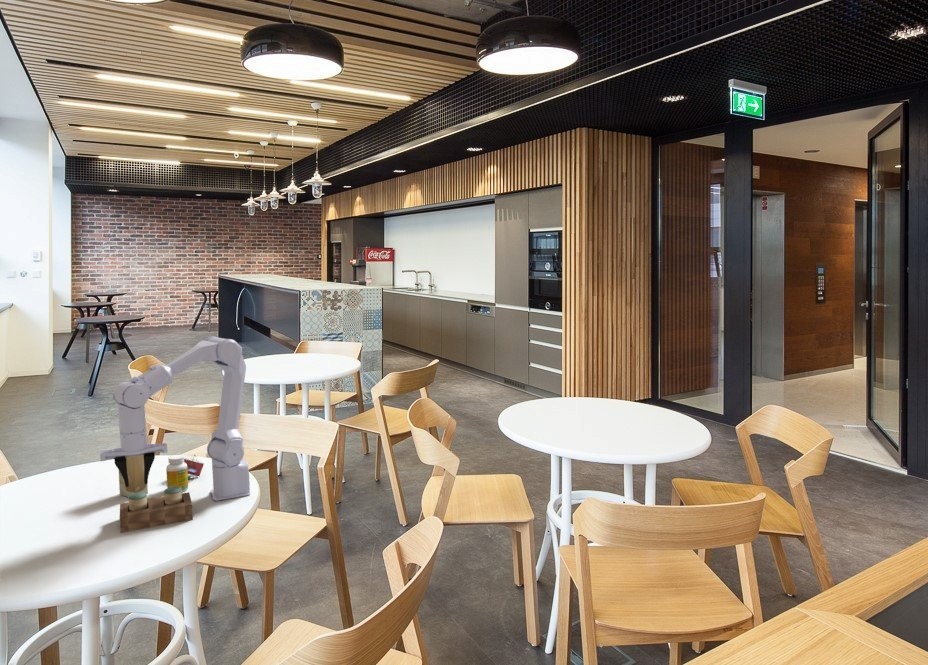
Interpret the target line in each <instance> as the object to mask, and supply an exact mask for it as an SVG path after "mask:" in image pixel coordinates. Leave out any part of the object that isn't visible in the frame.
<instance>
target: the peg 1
mask: <svg viewBox="0 0 928 665" xmlns="http://www.w3.org/2000/svg"><path fill="white" fill-rule="evenodd" d="M147 494H148V493H147ZM147 494H146V493H144V492H139V493H134V494H131V495H129V496H128V497H127V499H128V502H129V512H131V511H137V510H143V509H147V499H148V496H147Z"/></svg>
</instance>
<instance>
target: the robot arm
mask: <svg viewBox="0 0 928 665" xmlns="http://www.w3.org/2000/svg"><path fill="white" fill-rule="evenodd" d="M201 362H214V363H215V364H216V365H217V366H218V367H219V368H220V369H221V370H222V371H223V372H224V374H223V381H222V388H221V390H222V391H221V398H220V405H219V411H218V412H219V413H218V420H217V428H216V429H215V430H214V431H213V432H212V433H211V438H210V440H209V442H208V444H207V447H206V454H207V455H208V457H209V458H210V459H211V467H212V483H213V484H212V486H213V487H212V488H213V489H210V494H211V496H212V500H213V501H214V502H216V501H221V500H222V501H224V500H226V499H227V500H228V499H234V498H240V497H245V496H250V495H251V492H250V491H251V488H250V486H251V485H250V470H249V469H250V468H249V462H248V461H247V460H243V458H244V456H245V449H244V446H243V442H244V438H243V436H242V435H241V432H240V430H239V426H240V417H241V411H242V403H243V402H242V401H243V397H244V396H243V393H244V386H245V380H246V372H247V371H246V370H247V366H246V362H245V358H244V356H243V347H242V346H241V345H240V344H239V343H238V342H237V341H236V340H235V339H231V338H224V337H223V338H222V337H218V336H213V335H212V336H209V337H207V338H205V339H204V340H201V341H199V342H197V344H196V345H194V346H192V348H190V349H188V350H187V351H186V352H184V353H182V354H181V355H180V356H178V357H176V358H175V359H173V360H172V361H170V362H169V363H168V364H166V365H163V364H157V365H156V364H151V366H149V367H148V370H146V371H144V372H143V373H141V374H139V375H137V376H133V377H131V381H124V382H121V383H120V384H118V386H116V388H115V390H114V392H113V394H112V399H113V400H114V402H115V403H117V407H118V410H117V411H118V427H119V438H120V447H118V448H113V449H107V450H103V451H100V452H99V456H100V458H99V459H100V462H106V461H108V460H109V461H110V460H114V464H115V467H116V468H117V469H118V472H119V471H120V473H121V474H122V477H123V479H124V482H125V486H126V487H129V479H128V473H127V460H126V457H131V456H139V455H144V484H147V485H148V482H149V476H150V471H151V468H152V466H153V463H154V461H155V459H156V455H155V454H161V453H162V454H166V453H168V443H167V442H165V443H148V439H147V438H148V436H147V425H146V424H147V422H146V408H145V405H146V404H147V402H148V401H149V398H150V397H152V396H153V395H155V394H156V393H158V392H159V391H161V390H163V389H165V388H166V387H168V386H170V385H171V384H172V383H173V381H174V377H175V376H178V375H179V374H180V373H183V372H184V371H186V370H187V369H189V368H192V367H194V366H195V365H197V364H199V363H201Z"/></svg>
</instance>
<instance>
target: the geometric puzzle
mask: <svg viewBox="0 0 928 665" xmlns="http://www.w3.org/2000/svg"><path fill="white" fill-rule="evenodd" d="M188 457H189V456H186V458H185V457H184V463H186V464H187V471H188V475H190V476H189V478H191V477H192V476H193V477H196V476H199V477H200V475H201V473H202V471H203V467H204V464H205V463H203V462H202V460H200V459H199V460H197V461H196V460H195V459H194V458H196V457H197V456H196V454H193V455H191V459H190V458H188ZM200 461H201V462H200Z"/></svg>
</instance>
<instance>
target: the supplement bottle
mask: <svg viewBox="0 0 928 665" xmlns="http://www.w3.org/2000/svg"><path fill="white" fill-rule="evenodd" d="M184 459H185V456H184V455H183V454H174V455H171V456H169V457H168V464H167V466H166V469H165V470H166V486H167V488H170V487H181V488H182V493H184V492H185V491H187V490H188V489H189V476H188V471H187V464H186V463H184ZM167 488H166V489H167Z"/></svg>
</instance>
